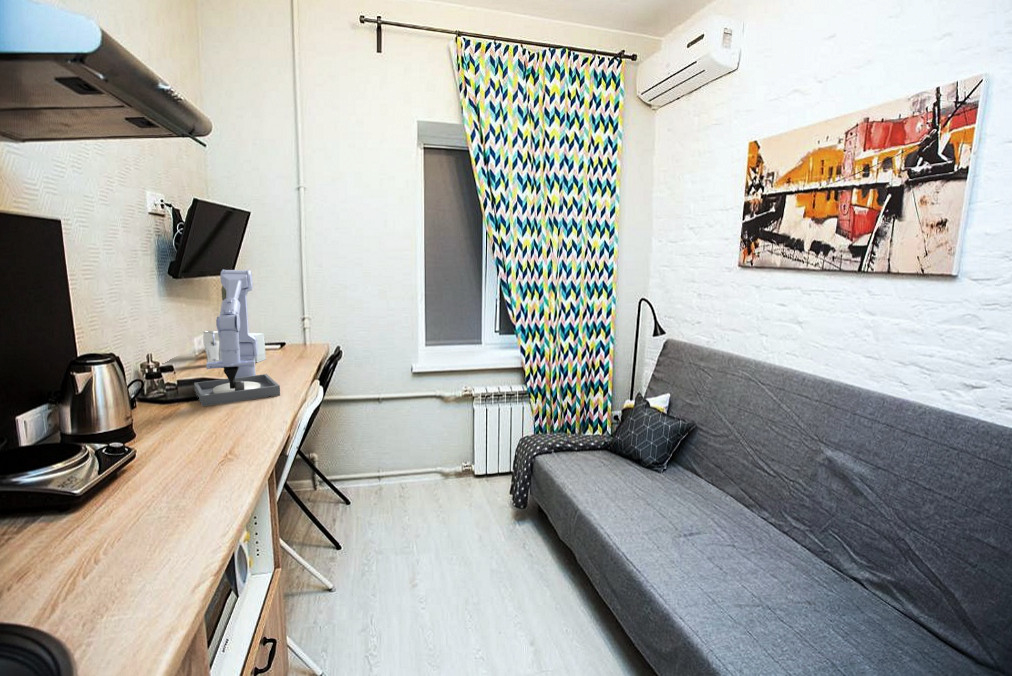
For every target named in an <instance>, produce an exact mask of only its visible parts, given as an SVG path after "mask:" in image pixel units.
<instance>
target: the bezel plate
mask: <svg viewBox="0 0 1012 676" xmlns="http://www.w3.org/2000/svg"><path fill="white" fill-rule="evenodd" d="M235 381H249V382H257V383H259V384H260V387H261V388H254V389H247V390H239V391H232V392H225V393H217V394H213V388H214V387H216V386H218V385H222V384H226V383H230V381H229V379H228V378H222V379H215V380H214V379H213V380H206V381H200V382H199V381H198V382H193V385H194V386H193V387H194V392H195V391H196V393H197V395H198V397H199V399H198V401H199V402H200V404H201V406H202V407H209V406H215V405H223V404H229V403H236V402H243V401H244V402H245V401H248V400H256V399H263V397H264V398H269V396H271V397H276V395H278V396H281V386H280V384H278V383H277V382H276V381H275V380H274V379H273V378H272V377H270V376H269V374H267V373H264V374H256V375H254V376H246V377H238V378H235ZM196 393H195V394H196ZM197 395H196V396H197ZM198 397H197V398H198Z"/></svg>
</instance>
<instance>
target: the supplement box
mask: <svg viewBox="0 0 1012 676" xmlns="http://www.w3.org/2000/svg"><path fill="white" fill-rule="evenodd" d="M249 333H250V334H251V335H253V336H255V337H256V339H257V343H258V356H257V357H255V364H256V363H260V362H262V361H266V360H267V359H266V358H267V357H266V356H267V355H266V342H265V333H260V332H259V333H258V332H249ZM241 342H250V341H241Z"/></svg>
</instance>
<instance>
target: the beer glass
mask: <svg viewBox="0 0 1012 676" xmlns="http://www.w3.org/2000/svg"><path fill="white" fill-rule="evenodd" d="M202 338H203V339H202V340H203V347H204V350H205V353H206V359H207V360H206V364H207V363H208V362H219V361H221V350H220V337H218V330H205V331H203V337H202Z"/></svg>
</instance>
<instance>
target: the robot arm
mask: <svg viewBox="0 0 1012 676" xmlns="http://www.w3.org/2000/svg"><path fill="white" fill-rule="evenodd" d="M220 283H221V285H222V286H223V287H224V288H225V289H226V299H224V300H222V302H221V306H220V310H219V311H220V313H219V316H217V317H216V319H215V321H216V322H215V323H216V326H215V327H216V331H218V337H220V350H221V361H219V362H208V363H207V362H206V363H205V364H206V370H211V369H223V373H224V374H225V376H226V377H227V379H229V381H230V389H234V388H235V387H234V382H235V378H238V377H246V376H254V375H257V373H256V363H255V357H257V356H258V343H257V339H256V337H255V336H253V335H251V334H250V333H251V332H250V331H249V330H250V329H249V315H248V314H249V312H248V298H247V297H248V292H251V291H253V287H254V285H253V284H254V283H253V274H252V271H251V270H250V269H247V270H246V269H245V270H244V269H222V270H221V271H220ZM241 341H250V342H241Z"/></svg>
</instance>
